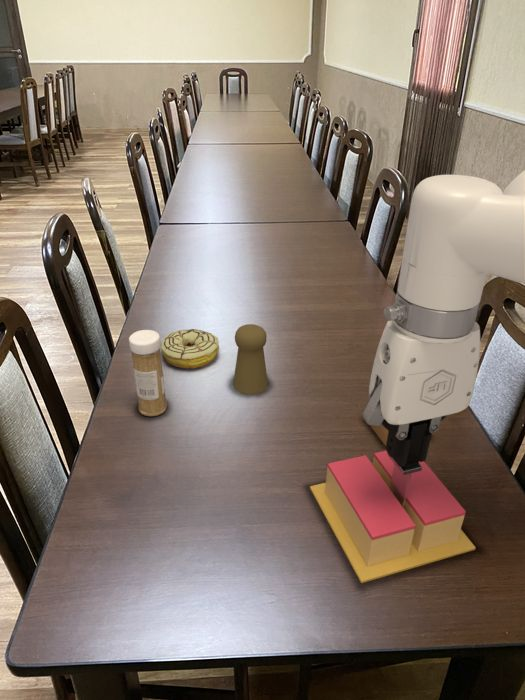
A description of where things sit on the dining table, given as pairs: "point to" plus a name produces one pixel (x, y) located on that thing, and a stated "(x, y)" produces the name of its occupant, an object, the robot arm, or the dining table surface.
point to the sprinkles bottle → (148, 372)
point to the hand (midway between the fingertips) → (405, 455)
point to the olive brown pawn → (250, 360)
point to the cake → (389, 517)
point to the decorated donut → (189, 348)
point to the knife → (408, 462)
